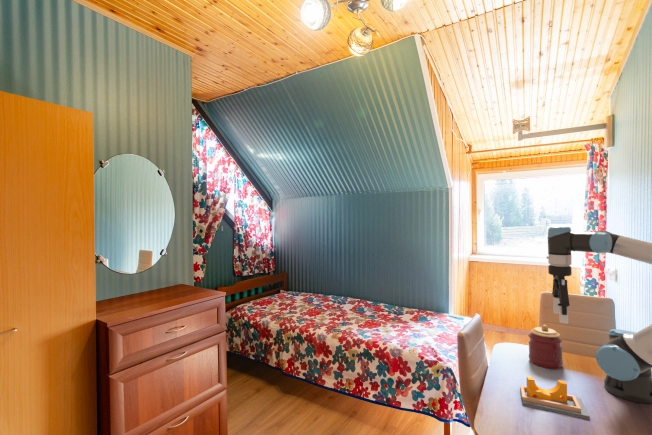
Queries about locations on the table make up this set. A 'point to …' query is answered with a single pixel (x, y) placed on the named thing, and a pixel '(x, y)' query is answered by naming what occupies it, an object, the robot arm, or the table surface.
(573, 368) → the table surface
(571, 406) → the holder board
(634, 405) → the table surface
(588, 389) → the table surface
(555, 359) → the canister
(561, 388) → the pipe clamp
